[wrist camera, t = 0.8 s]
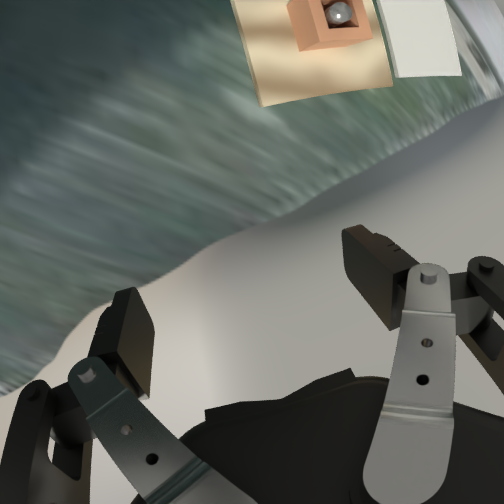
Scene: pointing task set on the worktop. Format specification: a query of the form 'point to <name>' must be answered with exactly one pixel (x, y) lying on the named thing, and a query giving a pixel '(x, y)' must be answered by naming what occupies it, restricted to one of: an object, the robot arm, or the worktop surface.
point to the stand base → (305, 56)
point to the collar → (316, 28)
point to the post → (337, 14)
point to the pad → (419, 38)
